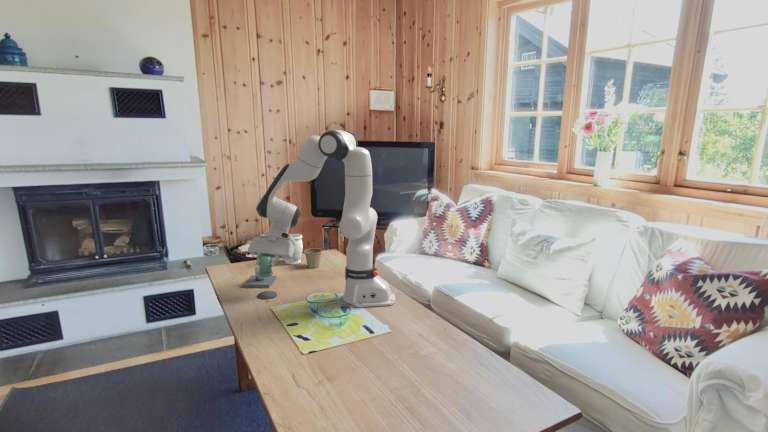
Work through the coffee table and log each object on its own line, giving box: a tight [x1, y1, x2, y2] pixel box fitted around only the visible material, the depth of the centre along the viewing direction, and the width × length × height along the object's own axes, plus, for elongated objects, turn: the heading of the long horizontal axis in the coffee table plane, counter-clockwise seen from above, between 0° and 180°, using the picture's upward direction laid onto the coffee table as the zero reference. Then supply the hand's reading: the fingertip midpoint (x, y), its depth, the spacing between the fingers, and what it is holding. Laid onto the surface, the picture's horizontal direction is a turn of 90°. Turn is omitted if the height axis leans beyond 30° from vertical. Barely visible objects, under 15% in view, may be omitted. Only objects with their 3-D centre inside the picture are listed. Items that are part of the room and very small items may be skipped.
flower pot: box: [303, 247, 323, 269], centre depth 220 cm, size 9×9×9 cm
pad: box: [257, 290, 278, 300], centre depth 181 cm, size 8×8×1 cm
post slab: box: [242, 274, 277, 289], centre depth 195 cm, size 12×12×2 cm
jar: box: [284, 233, 304, 266], centre depth 225 cm, size 11×10×15 cm
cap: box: [258, 255, 274, 277], centre depth 178 cm, size 6×6×8 cm
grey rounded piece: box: [254, 267, 264, 281], centre depth 195 cm, size 4×6×6 cm, turn 179°
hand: (264, 264), depth 177 cm, fingers closed on cap, 5 cm apart
